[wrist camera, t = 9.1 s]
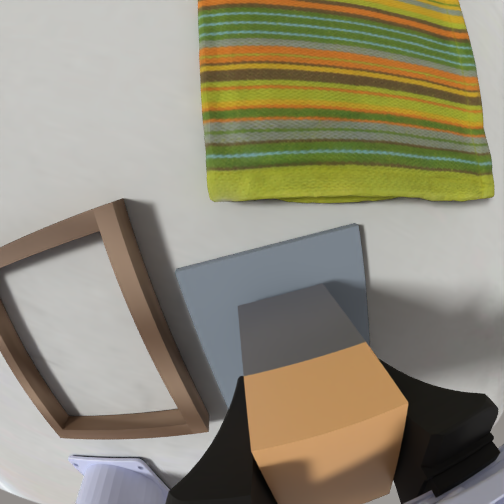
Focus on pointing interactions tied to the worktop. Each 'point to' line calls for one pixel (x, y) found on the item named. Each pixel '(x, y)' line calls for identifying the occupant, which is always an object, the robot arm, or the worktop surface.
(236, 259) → the mat
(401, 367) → the worktop surface
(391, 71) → the dish towel
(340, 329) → the orange grey tall block
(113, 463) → the robot arm
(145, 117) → the worktop surface
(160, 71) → the worktop surface
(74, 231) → the frame
